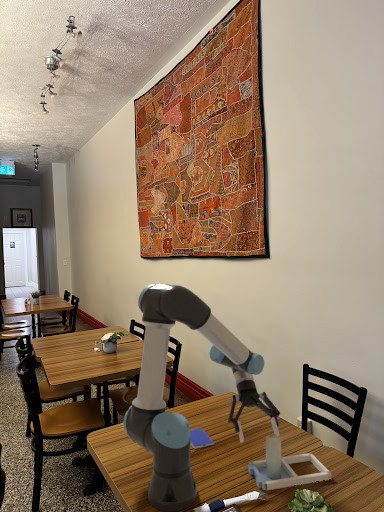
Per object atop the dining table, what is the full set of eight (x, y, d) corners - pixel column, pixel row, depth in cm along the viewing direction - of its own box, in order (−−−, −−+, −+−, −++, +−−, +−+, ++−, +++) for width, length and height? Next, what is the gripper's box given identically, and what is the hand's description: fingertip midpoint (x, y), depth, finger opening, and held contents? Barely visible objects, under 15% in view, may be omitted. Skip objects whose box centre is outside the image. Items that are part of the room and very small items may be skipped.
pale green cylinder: (275, 481, 117) (275, 444, 117) (262, 474, 121) (262, 438, 121) (284, 474, 120) (284, 438, 120) (271, 468, 124) (271, 433, 124)
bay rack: (260, 491, 113) (260, 485, 113) (246, 468, 125) (246, 462, 125) (331, 479, 118) (331, 473, 118) (311, 458, 130) (311, 452, 130)
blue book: (183, 431, 150) (194, 446, 138) (201, 427, 153) (214, 441, 141) (183, 435, 150) (194, 450, 138) (202, 431, 153) (214, 445, 141)
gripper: (271, 384, 151) (288, 438, 136) (213, 390, 146) (225, 446, 131) (276, 375, 145) (295, 430, 131) (216, 381, 140) (229, 439, 126)
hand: (260, 439), depth 131 cm, fingers open, 13 cm apart
